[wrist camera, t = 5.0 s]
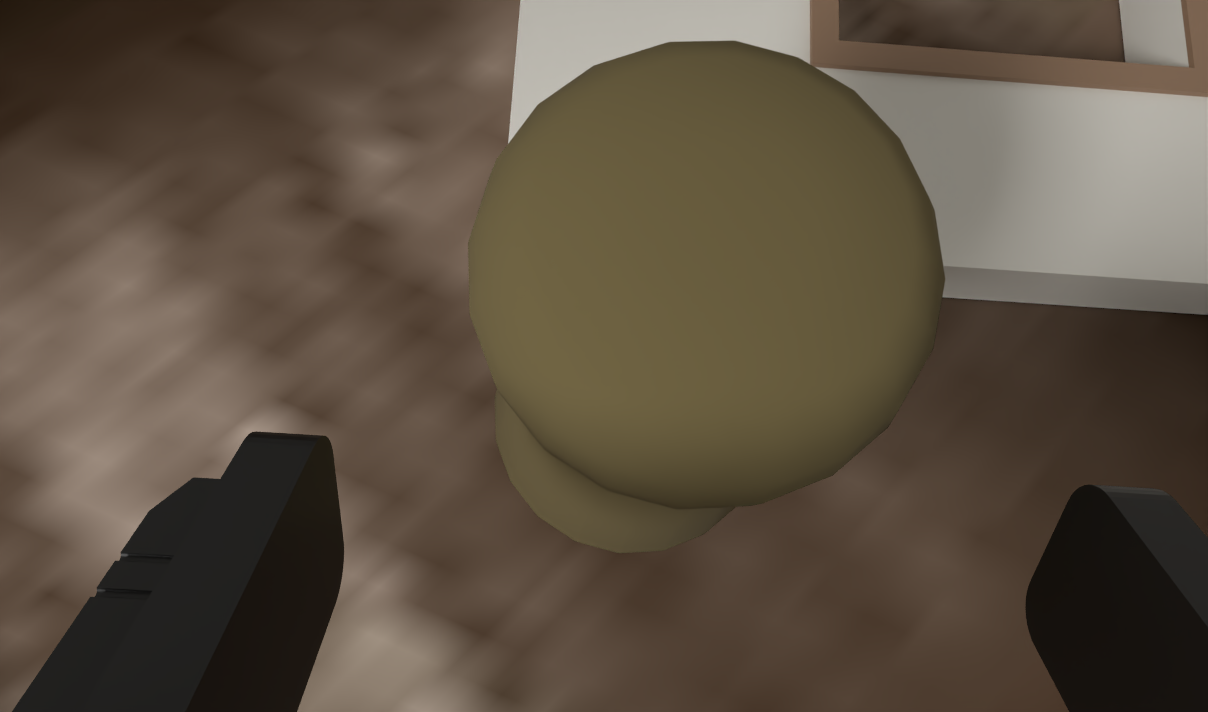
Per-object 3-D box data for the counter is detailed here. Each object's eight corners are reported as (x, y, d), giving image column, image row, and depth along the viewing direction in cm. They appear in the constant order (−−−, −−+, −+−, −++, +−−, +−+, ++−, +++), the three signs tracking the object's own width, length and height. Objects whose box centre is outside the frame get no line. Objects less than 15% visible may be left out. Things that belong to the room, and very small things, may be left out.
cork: (620, 229, 20) (693, -165, 9) (823, 403, 19) (1166, 202, 8) (435, 421, 18) (261, 231, 8) (644, 615, 18) (776, 705, 7)
